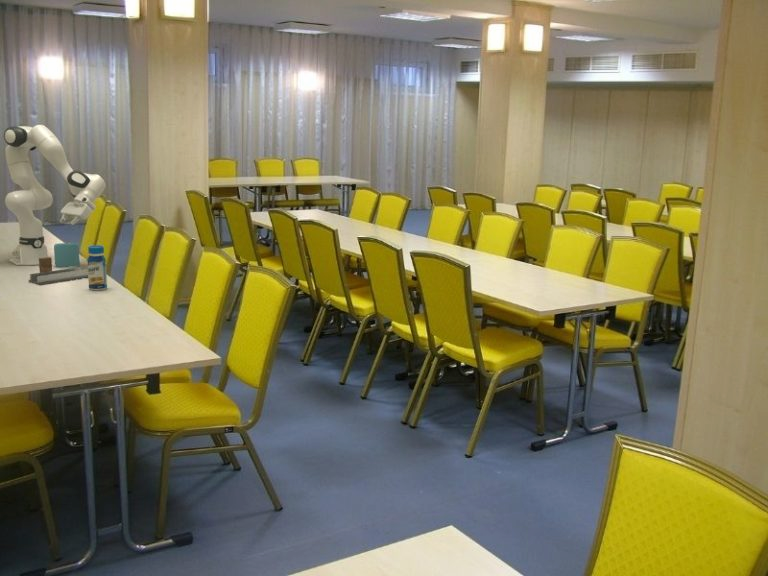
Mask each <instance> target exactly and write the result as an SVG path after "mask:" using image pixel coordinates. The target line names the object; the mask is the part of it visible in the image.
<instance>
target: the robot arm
mask: <svg viewBox="0 0 768 576" xmlns="http://www.w3.org/2000/svg"><path fill="white" fill-rule="evenodd" d="M3 139H4V141H5V143H6V144H7V145H6V147H5V151H4V152H5V160H6V163H7V168H8V171H9V174H10V178H11V181H12V182H13V183H14V184H17V185H18V186H19V187H21V188H22V189H21V190H15V191H11V192H9V193H6V196H5V199H4V202H5V203H4V204H5V206H6V208H7V209H8V210H9V211H10V212H12V213H13V214H14V215H15V217H16V219H17V221H18V225H19V232H20V233H19V235H20V236H19V238H18V245H17V246H16V247H15V248H14V249H13V251H12V253H11V254H12V258H8V262H10V263H12V264H14V265H15V266H36V265H38V266H39V258H44V257H49V254H48V253H49V252H48V247H47V245H45V236H44V232H43V231H44V230H43V228H44V227H43V222H42V221H41V219H39V218H37V217H36V216H35V215H34V212H33V211H39V210H44V209H47V208H50V207H51V206H52V204H53V201H54V199H53V195H52V192H51V191H50V190H48V189H46V187H43V185H41V183H40V182H39V181H38V179H37V178H36V176H35V172H34V171H33V167H32V164H31V160H30V158H29V151H30V152H31V151H35V150H36V149H37V150H38V152H40V154H42V156H43V157H44V158H45V159H46V160H47V161H48V162H49V163H50V164H51V165H52V166H53V167H54V168H55V169H56V170H57V172H58V173H59V174H60V175H61V177H62V178H63V180H64V181H65V182H66V183H67V186H68V188H69V192H70V195H71V196H72V197H73V198H74V199H73V200H72V201H69V202H67V203H66V205H65V206H64V207H62V208H61V210H60V214H61V215H62V216H61V218H60V220H59V222H60V223H61V224H65V222H66V219H68V218H71V220H70V222H69V224H70V225H72V226H74V225H75V224H76V223H78V222H79V221H80V220H87V219H88V217H90V215H91V214H92V213H93V212H94V211H95V210H96V209H97V206H96V205H95V202H96V200H97V199H98V198H100V196H101V195H102V193H103V192H104V190H105V189H106V187H107V184H106V181H105V180H104V178H103V177H102V176H101V175H100V174H97V173H93V174H90V173H85V172H83V171H80V170H74V169H73V168H72V167H71V166H70V163H69V162H68V159H67V157H66V156H67V155H66V152H65V149H64V147H63V145H62V143H61V142H60V140H59V138H58V137H57V136H56V135H55V134H54V133H53V132H52V130H50V129H49V128H48V127H47V126H45V125H44V124H37V125H34V126H29V125H28V126H27V125H23V126H21V125H20V126H19V125H18V126H17V125H14V126H9V127H7V128H5V130H4V133H3Z"/></svg>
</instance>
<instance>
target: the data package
mask: <svg viewBox="0 0 768 576" xmlns="http://www.w3.org/2000/svg"><path fill="white" fill-rule="evenodd" d="M79 247H80V246H79V244H78V243H77V242H67V243H66V242H64V243H61V242H60V243H55V244H54V245H53V253H54V265H55V267H56V268H58V267H59V268H70V267H69V266H77V267H80V263H81V262H80V248H79Z"/></svg>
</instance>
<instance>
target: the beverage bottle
mask: <svg viewBox="0 0 768 576" xmlns="http://www.w3.org/2000/svg"><path fill="white" fill-rule="evenodd" d="M104 248H105V247H104V246H103V245H99V244H98V245H89V246H88V249H87V250H88V254H89V256H88V258H87V260H86V261H87V266H86V269H88V278H87V280H88V289H89V290H91V291H103V290H106V289H108V277H107V275H108V274H107V264H106V262H107V259H106V258H105V255H103V254H104V252H105V249H104Z"/></svg>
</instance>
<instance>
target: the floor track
mask: <svg viewBox="0 0 768 576" xmlns="http://www.w3.org/2000/svg"><path fill="white" fill-rule="evenodd" d="M82 278H85V279H88V268H85V269H82V267H81V266H77V267H68V268H62V269H56V270H52V271H48V272H41V273H40V272H36V273H29V279H28V282H29V283H31V282H32V283H31V284H34V283H35V284H34V285H38V286H45V285H51V284H52V283H53V284H57V283H58V282H59V283H64V282H71V281H70V280H72V281H76V279H78V280H83V279H82Z"/></svg>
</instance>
